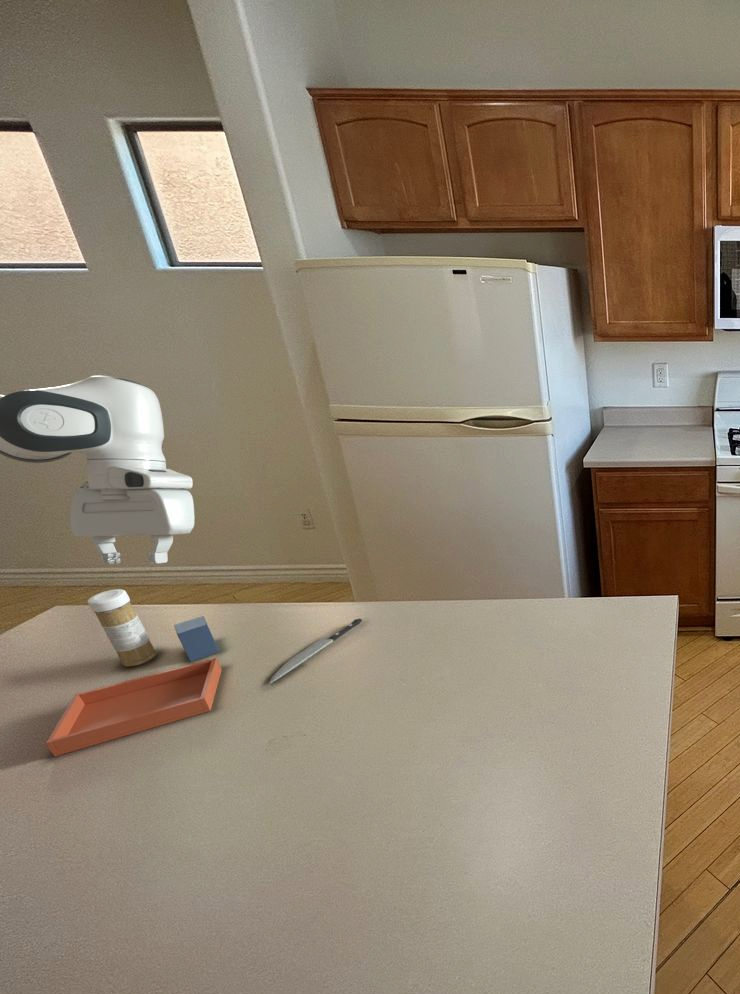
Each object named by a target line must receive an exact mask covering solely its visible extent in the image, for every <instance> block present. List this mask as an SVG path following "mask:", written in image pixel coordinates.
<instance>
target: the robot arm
mask: <svg viewBox="0 0 740 994" xmlns="http://www.w3.org/2000/svg"><path fill="white" fill-rule="evenodd" d="M162 412H163V411H162V408H161V404H160V401H159V398H158V396H157V394H156V392H154V391H153V390H152V389H151V388H150V387H148V386H146V385H144V384H141V383H139V382H137V381H134V380H130V379H127V378H123V377H118V376H110V375H109V376H108V375H90V376H89V377H87V378H84V379H82V380H79V381H75V382H72V383H68V384H63V385H58V386H54V387H53V386H52V387H43V388H35V389H22V390H17V391H13V392H10V393H7V394H5V395H3V394H0V455H2V456H4V457H6V458H9V459H12V460H15V461H19V462H24V463H33V464H43V463H44V464H45V463H51V462H56V461H59V460H62V459H64V458H67V457H68V456H70V455H71V454H73V453H77V454H79V453H80V454H84V455H85V457H86V469H87V480H86V481H84V482H82V484H81V485H80V486H79V487H78V488H77V489H76V493H74V495H73V497H72V499H71V506H70V524H69V525H70V531H71V532H72V534H73V535H74V537H78V538H79V537H80V538H83V537H84V538H85V537H87V538H88V537H92V544H93V546H94V547H95V549H96V550H97V551H98V553H99V554H100V563H101V564H102V565H114V564H120V563H121V562H122V558H121V557H122V553H121V552H118V551H117V550H116V547H115V544H114V543H116V537H128V536H129V537H131V536H135V537H136V536H150V541H151V543H153V546H152V548H151V552H147V553H146V554H147V558H148V559H147V562H148V563H149V564H165V563H167V562H168V561H169V558H168V557H169V556H168V552H169V551H170V549H171V547H172V545H173V544H174V543H173V542H174V535H188V534H191V532H192V531H193V529H194V527H195V523H196V522H195V521H196V520H195V505H194V497H193V496H192V493H191V492H190V491H189V490H191V489H192V488H193V486H194V485H193V484H194V482H193V478H192V477H191V476H190V475H187V474H184V473H181V472H178V471H175V470H173V469H171V468H167V460H166V457H165V455H164V453H163V447H162V446H163V441H164V439H165V429H164V428H165V427H164V420H163V418H164V417H163V413H162Z"/></svg>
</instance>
